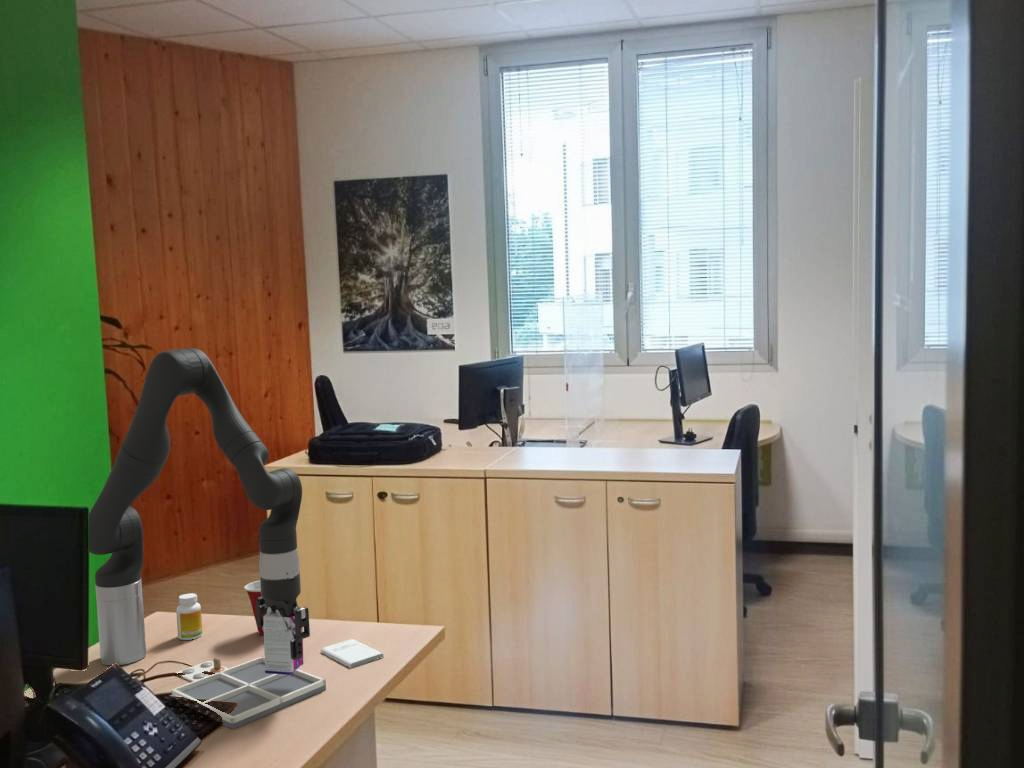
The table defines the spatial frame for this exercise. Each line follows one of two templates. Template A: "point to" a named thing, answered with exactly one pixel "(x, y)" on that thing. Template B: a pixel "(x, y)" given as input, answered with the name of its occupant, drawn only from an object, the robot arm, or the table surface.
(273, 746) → the table surface
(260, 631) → the plastic cup
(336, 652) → the external hard drive
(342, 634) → the table surface
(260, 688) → the socket board
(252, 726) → the table surface
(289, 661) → the supplement box
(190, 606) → the supplement bottle
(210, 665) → the tile
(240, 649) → the table surface
